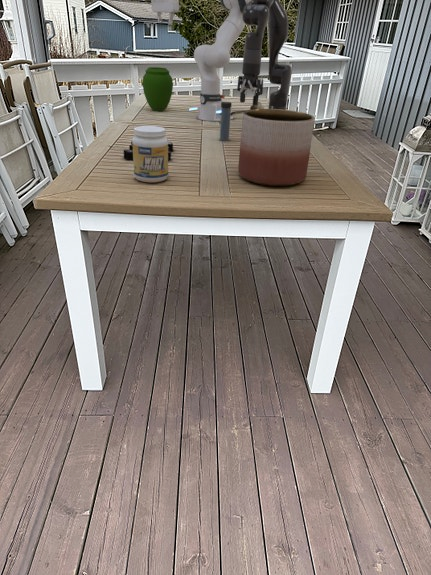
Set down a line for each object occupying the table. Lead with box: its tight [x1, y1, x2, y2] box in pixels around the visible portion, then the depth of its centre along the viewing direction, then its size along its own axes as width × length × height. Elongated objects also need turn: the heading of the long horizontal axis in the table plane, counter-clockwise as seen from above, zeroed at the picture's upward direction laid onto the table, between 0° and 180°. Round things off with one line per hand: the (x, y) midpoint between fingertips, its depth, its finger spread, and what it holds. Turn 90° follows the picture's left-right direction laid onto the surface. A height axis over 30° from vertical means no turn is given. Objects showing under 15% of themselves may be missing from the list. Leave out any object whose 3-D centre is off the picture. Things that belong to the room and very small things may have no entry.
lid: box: [221, 101, 232, 109], centre depth 195 cm, size 5×5×2 cm
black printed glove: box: [123, 140, 174, 161], centre depth 177 cm, size 19×3×30 cm
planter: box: [237, 108, 316, 187], centre depth 148 cm, size 25×25×22 cm
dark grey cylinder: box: [219, 107, 232, 142], centre depth 199 cm, size 4×4×17 cm
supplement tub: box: [131, 125, 169, 183], centre depth 142 cm, size 12×12×17 cm
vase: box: [141, 66, 174, 112], centre depth 261 cm, size 20×20×24 cm
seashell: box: [249, 101, 265, 110], centre depth 266 cm, size 10×6×8 cm, turn 97°
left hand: (165, 23), depth 208 cm, fingers open, 8 cm apart
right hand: (248, 103), depth 180 cm, fingers open, 8 cm apart
